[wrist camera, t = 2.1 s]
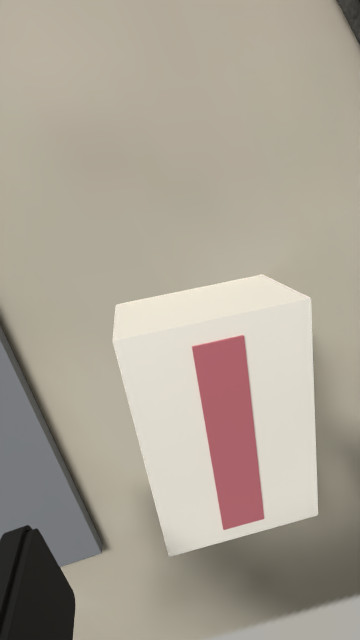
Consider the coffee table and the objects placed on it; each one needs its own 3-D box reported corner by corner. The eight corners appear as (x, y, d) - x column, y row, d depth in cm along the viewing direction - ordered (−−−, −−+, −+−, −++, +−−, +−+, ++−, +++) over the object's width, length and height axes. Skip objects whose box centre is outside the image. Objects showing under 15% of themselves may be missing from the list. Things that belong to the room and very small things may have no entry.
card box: (260, 273, 14) (312, 298, 10) (274, 446, 17) (319, 517, 13) (116, 302, 13) (112, 342, 9) (158, 476, 16) (169, 559, 12)
